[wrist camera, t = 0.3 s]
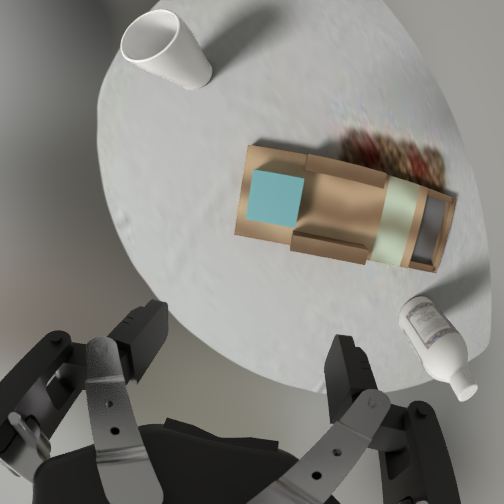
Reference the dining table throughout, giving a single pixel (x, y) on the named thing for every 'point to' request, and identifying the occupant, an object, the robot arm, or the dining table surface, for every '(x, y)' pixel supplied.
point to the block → (274, 198)
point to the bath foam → (437, 345)
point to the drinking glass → (166, 49)
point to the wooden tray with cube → (352, 212)
